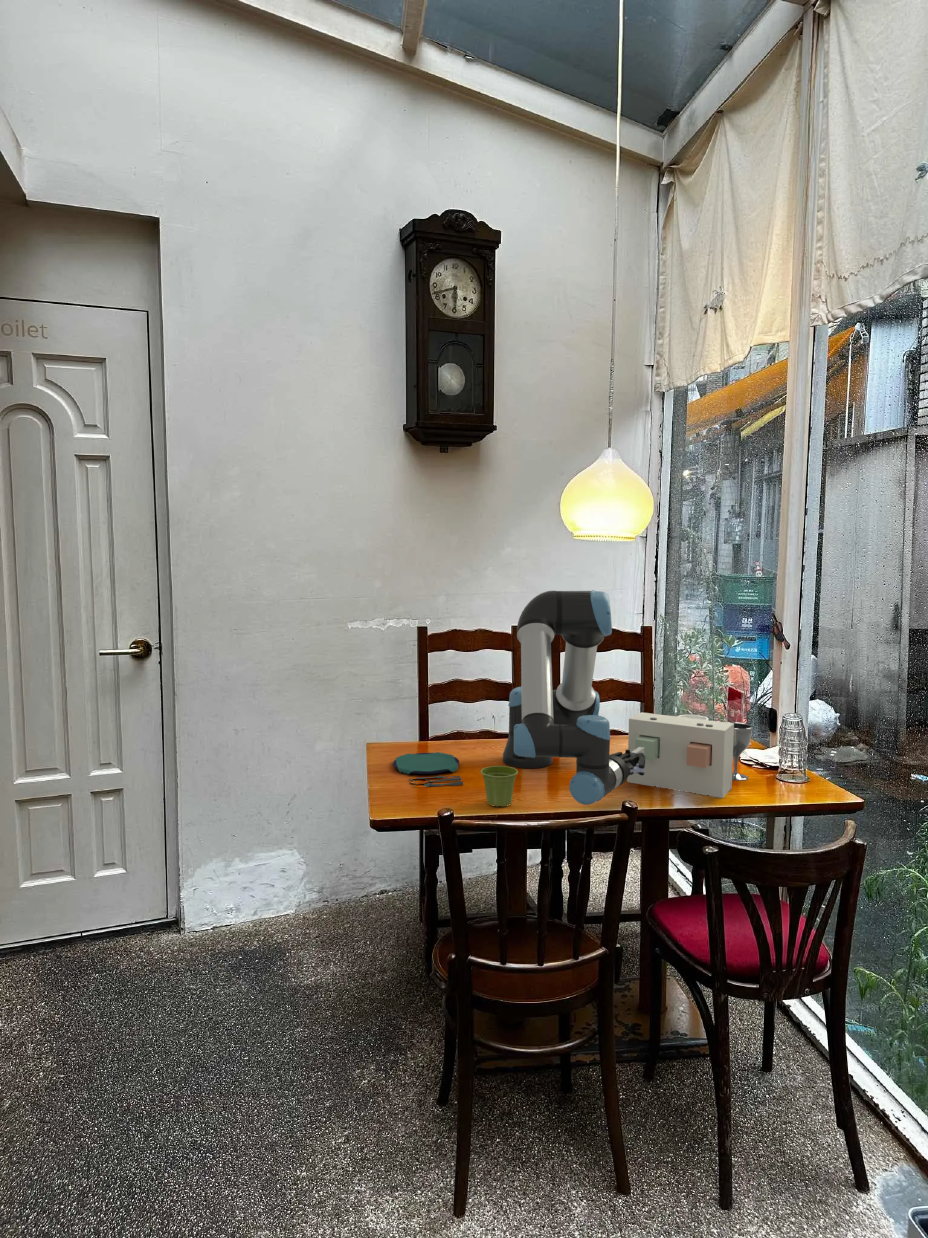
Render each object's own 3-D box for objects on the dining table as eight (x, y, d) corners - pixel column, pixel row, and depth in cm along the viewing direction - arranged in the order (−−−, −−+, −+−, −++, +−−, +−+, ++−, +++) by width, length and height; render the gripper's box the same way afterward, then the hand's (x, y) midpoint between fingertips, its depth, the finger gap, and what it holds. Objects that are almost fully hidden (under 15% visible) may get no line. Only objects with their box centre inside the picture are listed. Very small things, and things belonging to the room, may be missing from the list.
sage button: (653, 760, 209) (653, 741, 209) (635, 757, 212) (635, 739, 211) (660, 755, 214) (660, 737, 214) (642, 752, 217) (643, 734, 217)
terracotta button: (705, 768, 202) (706, 749, 201) (686, 765, 205) (687, 746, 204) (711, 762, 207) (712, 744, 206) (693, 760, 210) (693, 741, 209)
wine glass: (715, 776, 224) (717, 724, 222) (730, 771, 229) (732, 721, 228) (740, 782, 218) (742, 730, 216) (755, 777, 223) (757, 725, 221)
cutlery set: (454, 757, 244) (454, 749, 243) (470, 788, 214) (470, 779, 214) (390, 760, 240) (390, 753, 240) (398, 792, 211) (398, 784, 211)
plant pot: (496, 812, 192) (496, 778, 192) (473, 802, 200) (473, 769, 199) (525, 805, 198) (525, 772, 197) (501, 795, 206) (502, 763, 205)
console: (722, 798, 204) (724, 729, 202) (627, 782, 218) (628, 717, 216) (731, 788, 213) (734, 722, 211) (639, 773, 226) (641, 711, 225)
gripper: (583, 784, 192) (618, 762, 212) (633, 793, 185) (665, 769, 205) (583, 754, 191) (618, 735, 211) (634, 762, 184) (666, 741, 204)
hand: (641, 752), depth 208 cm, fingers closed
